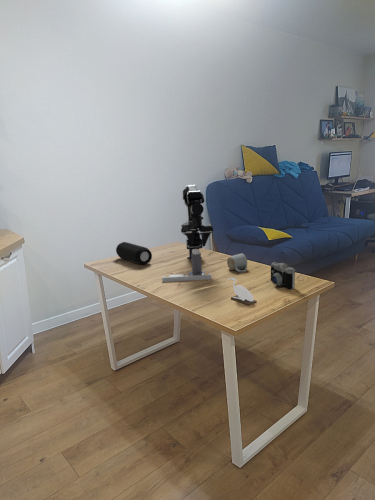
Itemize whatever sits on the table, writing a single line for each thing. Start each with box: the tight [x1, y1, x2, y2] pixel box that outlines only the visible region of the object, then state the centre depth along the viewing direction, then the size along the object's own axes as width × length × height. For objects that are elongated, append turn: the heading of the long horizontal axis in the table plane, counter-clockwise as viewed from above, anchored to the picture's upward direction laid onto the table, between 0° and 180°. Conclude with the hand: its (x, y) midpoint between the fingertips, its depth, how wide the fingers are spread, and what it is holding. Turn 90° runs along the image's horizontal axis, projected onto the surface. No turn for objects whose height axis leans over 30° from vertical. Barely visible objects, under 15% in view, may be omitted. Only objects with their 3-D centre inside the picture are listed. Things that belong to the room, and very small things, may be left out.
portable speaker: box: [115, 241, 153, 266], centre depth 206 cm, size 26×10×10 cm, turn 41°
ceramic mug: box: [226, 253, 248, 273], centre depth 181 cm, size 11×8×8 cm
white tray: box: [161, 271, 212, 283], centre depth 174 cm, size 23×12×2 cm, turn 91°
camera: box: [270, 261, 296, 291], centre depth 157 cm, size 15×7×10 cm, turn 22°
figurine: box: [226, 277, 257, 307], centre depth 143 cm, size 14×4×9 cm, turn 41°
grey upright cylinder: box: [191, 248, 203, 276], centre depth 172 cm, size 5×5×13 cm
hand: (197, 246), depth 183 cm, fingers open, 9 cm apart
